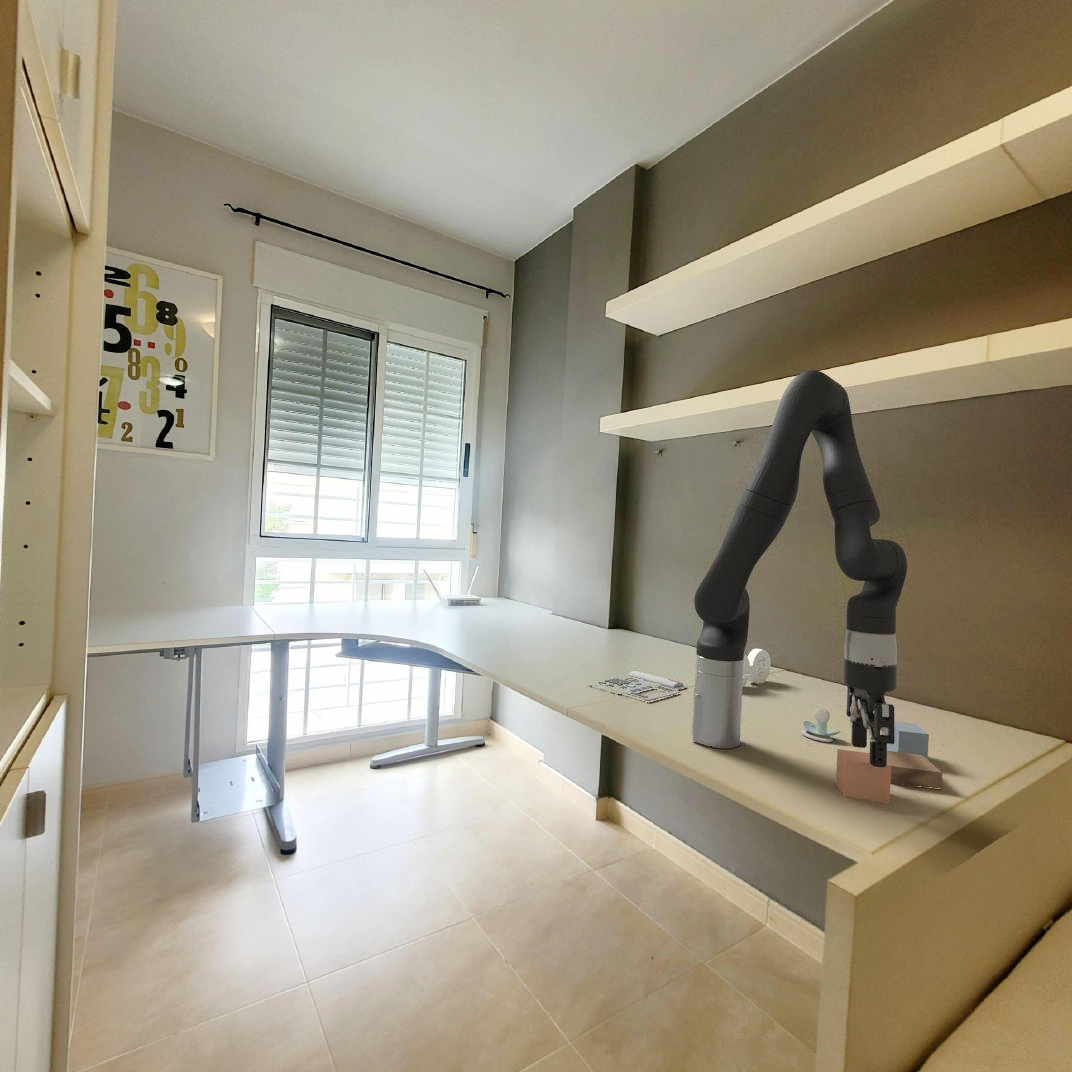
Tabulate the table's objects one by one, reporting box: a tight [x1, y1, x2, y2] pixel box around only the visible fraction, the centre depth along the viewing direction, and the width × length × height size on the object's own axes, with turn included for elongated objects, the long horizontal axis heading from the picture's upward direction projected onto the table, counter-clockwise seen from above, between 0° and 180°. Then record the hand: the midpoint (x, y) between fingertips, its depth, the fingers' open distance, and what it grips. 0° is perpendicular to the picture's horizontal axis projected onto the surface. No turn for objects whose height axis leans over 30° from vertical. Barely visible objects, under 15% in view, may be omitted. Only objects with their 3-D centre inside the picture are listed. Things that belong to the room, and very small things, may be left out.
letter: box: [743, 648, 772, 688], centre depth 157 cm, size 22×2×10 cm, turn 129°
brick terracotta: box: [835, 748, 892, 804], centre depth 91 cm, size 6×5×6 cm
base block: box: [887, 751, 943, 789], centre depth 98 cm, size 8×8×3 cm
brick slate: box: [887, 720, 930, 761], centre depth 108 cm, size 6×5×6 cm
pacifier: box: [800, 707, 841, 743], centre depth 117 cm, size 7×6×6 cm
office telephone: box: [595, 670, 688, 701], centre depth 150 cm, size 23×3×20 cm
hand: (868, 756), depth 91 cm, fingers open, 8 cm apart
